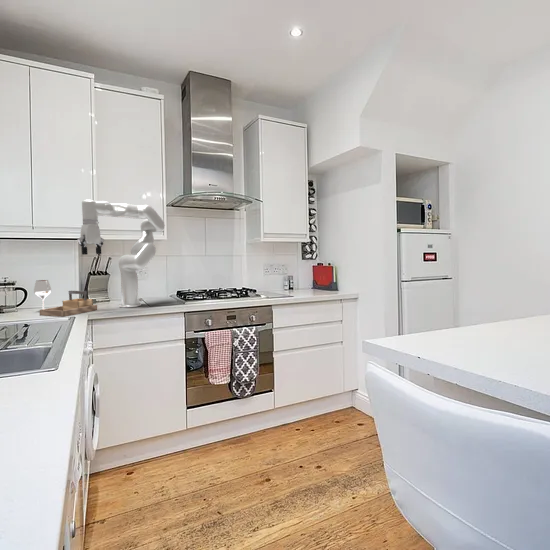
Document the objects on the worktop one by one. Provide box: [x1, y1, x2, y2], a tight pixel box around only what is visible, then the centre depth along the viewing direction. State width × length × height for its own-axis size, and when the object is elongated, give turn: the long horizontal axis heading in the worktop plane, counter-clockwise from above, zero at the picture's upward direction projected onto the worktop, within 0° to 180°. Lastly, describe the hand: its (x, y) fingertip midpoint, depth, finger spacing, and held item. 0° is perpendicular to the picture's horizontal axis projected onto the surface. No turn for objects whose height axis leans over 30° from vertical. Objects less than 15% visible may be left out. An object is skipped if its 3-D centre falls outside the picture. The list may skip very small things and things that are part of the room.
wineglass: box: [33, 279, 52, 309], centre depth 207 cm, size 8×8×18 cm
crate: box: [62, 290, 94, 311], centre depth 205 cm, size 10×11×11 cm
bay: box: [39, 304, 98, 318], centre depth 200 cm, size 22×16×4 cm
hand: (91, 254), depth 205 cm, fingers open, 9 cm apart
